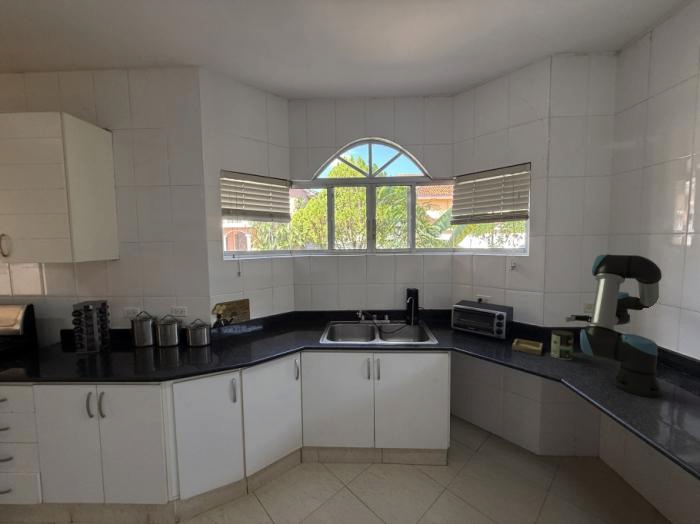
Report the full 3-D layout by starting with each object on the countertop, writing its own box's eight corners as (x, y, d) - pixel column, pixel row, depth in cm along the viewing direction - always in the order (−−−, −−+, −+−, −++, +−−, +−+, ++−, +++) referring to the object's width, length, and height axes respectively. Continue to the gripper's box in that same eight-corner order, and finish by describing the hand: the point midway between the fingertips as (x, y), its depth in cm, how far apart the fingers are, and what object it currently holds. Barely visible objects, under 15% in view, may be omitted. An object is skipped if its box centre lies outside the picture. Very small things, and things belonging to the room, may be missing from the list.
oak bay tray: (540, 355, 172) (540, 350, 171) (512, 350, 180) (512, 345, 180) (542, 347, 183) (542, 343, 183) (515, 343, 192) (515, 338, 192)
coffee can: (575, 356, 169) (576, 332, 168) (569, 361, 163) (570, 336, 162) (553, 351, 177) (555, 328, 176) (547, 356, 171) (548, 332, 170)
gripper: (629, 332, 164) (599, 336, 159) (584, 320, 188) (556, 323, 183) (630, 319, 163) (600, 322, 158) (585, 308, 187) (557, 311, 183)
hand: (576, 322), depth 171 cm, fingers open, 13 cm apart
